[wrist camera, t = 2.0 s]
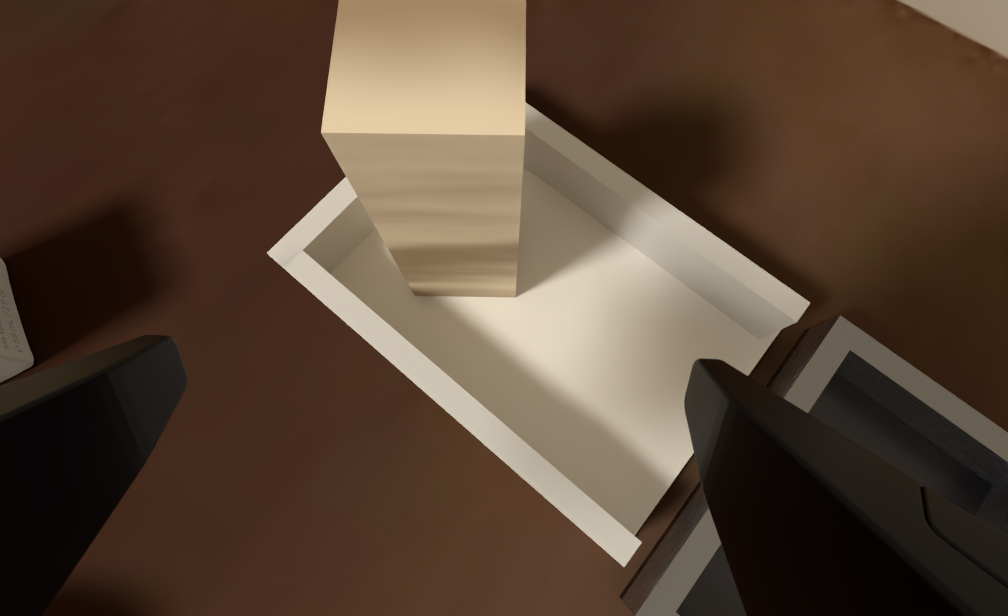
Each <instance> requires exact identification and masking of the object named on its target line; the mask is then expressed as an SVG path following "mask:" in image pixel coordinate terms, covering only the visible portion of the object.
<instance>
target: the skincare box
mask: <svg viewBox="0 0 1008 616" xmlns="http://www.w3.org/2000/svg"><path fill="white" fill-rule="evenodd" d="M33 364H34V357H33V354H32V352H31V350H30V347H29V345H28V342H27V339H26V336H25V333H24V330H23V327H22V324H21V320H20V317H19V314H18V311H17V307H16V304H15V301H14V297H13V293H12V290H11V285H10V282H9V278H8V273H7V269H6V265H5V263H4V262H3V260H2V259H1V258H0V383H1V382H3V381H5V380H7V379H9V378H11V377H13V376H15V375H17V374H19V373H20V372H22V371H24V370H26V369H28V368H30V367H31V366H32V365H33Z"/></svg>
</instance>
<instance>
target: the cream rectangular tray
mask: <svg viewBox="0 0 1008 616" xmlns="http://www.w3.org/2000/svg"><path fill="white" fill-rule="evenodd" d="M267 254H268V255H269V256H270V257H272V258H273V259H274V260H275V261H276V262H277V263H278V264H280V265H281V266H282V267H283V268H284V269H285V270H286V271H287V272H289V273H290V274H291V275H292V276H293V277H294V278H295V279H297V280H298V281H299V282H300V283H301V284H302V285H303V286H305V287H306V288H307V289H308V290H309V291H310V292H311V293H313V294H314V295H315V296H316V297H317V298H318V299H319V300H320V301H322V302H323V303H324V304H325V305H326V306H327V307H328V308H330V309H331V310H332V311H333V312H334V313H335V314H336V315H338V316H339V317H340V318H341V319H342V320H343V321H344V322H346V323H347V324H348V325H349V326H350V327H351V328H352V329H353V330H355V331H356V332H357V333H358V334H359V335H360V336H361V337H363V338H364V339H365V340H366V341H367V342H368V343H369V344H371V345H372V346H373V347H374V348H375V349H376V350H377V351H379V352H380V353H381V354H382V355H383V356H384V357H385V358H386V359H388V360H389V361H390V362H391V363H392V364H393V365H394V366H396V367H397V368H398V369H399V370H400V371H401V372H402V373H404V374H405V375H406V376H407V377H408V378H409V379H410V380H412V381H413V382H414V383H415V384H416V385H417V386H418V387H419V388H421V389H422V390H423V391H424V392H425V393H426V394H427V395H429V396H430V397H431V398H432V399H433V400H434V401H435V402H437V403H438V404H439V405H440V406H441V407H442V408H443V409H445V410H446V411H447V412H448V413H449V414H450V415H451V416H452V417H454V418H455V419H456V420H457V421H458V422H459V423H460V424H462V425H463V426H464V427H465V428H466V429H467V430H468V431H470V432H471V433H472V434H473V435H474V436H475V437H476V438H478V439H479V440H480V441H481V442H482V443H483V444H484V445H485V446H487V447H488V448H489V449H490V450H491V451H492V452H493V453H495V454H496V455H497V456H498V457H499V458H500V459H501V460H503V461H504V462H505V463H506V464H507V465H508V466H509V467H511V468H512V469H513V470H514V471H515V472H516V473H517V474H518V475H520V476H521V477H522V478H523V479H524V480H525V481H526V482H528V483H529V484H530V485H531V486H532V487H533V488H534V489H536V490H537V491H538V492H539V493H540V494H541V495H542V496H544V497H545V498H546V499H547V500H548V501H549V502H550V503H551V504H553V505H554V506H555V507H556V508H557V509H558V510H559V511H561V512H562V513H563V514H564V515H565V516H566V517H567V518H569V519H570V520H571V521H572V522H573V523H574V524H575V525H577V526H578V527H579V528H580V529H581V530H582V531H583V532H585V533H586V534H587V535H588V536H589V537H590V538H591V539H592V540H594V541H595V542H596V543H597V544H598V545H599V546H600V547H602V548H603V549H604V550H605V551H606V552H607V553H608V554H610V555H611V556H612V557H613V558H614V559H615V560H616V561H618V562H619V563H620V564H621V565H622V566H623V567H625V565H626V564H627V563H628V561H629V560H630V558H631V557H632V555H633V554H634V553H635V551H636V550H637V548H638V547H639V545H640V544H641V543H642V542H641V541H640V540H638V539H637V538H636V537H635V535H636V533H637V532H638V530H639V529H640V528H641V526H642V525H643V523H644V522H645V520H646V519H647V518H648V516H649V515H650V513H651V512H652V511H653V509H654V508H655V506H656V505H657V504H658V502H659V501H660V499H661V498H662V497H663V495H664V494H665V492H666V491H667V490H668V488H669V487H670V485H671V484H672V482H673V481H674V480H675V478H676V477H677V475H678V474H679V473H680V471H681V470H682V468H683V467H684V466H685V464H686V463H687V461H688V460H689V459H690V457H691V456H692V454H693V453H694V450H693V446H692V441H691V437H690V432H689V428H688V423H687V419H686V414H685V409H684V398H685V394H686V389H687V385H688V381H689V377H690V373H691V369H692V366H693V364H694V362H695V361H696V360H697V359H699V358H706V359H720V360H723V361H724V362H726V363H728V364H729V365H731V366H733V367H734V368H736V369H737V370H739V371H741V372H742V373H744V374H745V375H747V376H749V374H750V373H751V371H752V370H753V369H754V367H755V366H756V364H757V363H758V362H759V360H760V359H761V357H762V356H763V355H764V353H765V352H766V350H767V349H768V347H769V346H770V345H771V343H772V342H773V340H774V339H775V338H776V336H777V335H778V333H779V332H780V331H781V329H783V328H785V327H788V326H790V325H792V324H794V323H796V322H797V321H798V320H799V319H800V317H801V316H802V314H803V313H804V312H805V310H806V309H807V307H808V306H809V304H810V302H809V301H807V300H806V299H804V298H803V297H802V296H800V295H799V294H797V293H796V292H795V291H793V290H792V289H790V288H789V287H787V286H786V285H785V284H783V283H782V282H780V281H779V280H777V279H776V278H775V277H773V276H772V275H770V274H769V273H767V272H766V271H765V270H763V269H762V268H760V267H759V266H758V265H756V264H755V263H753V262H752V261H750V260H749V259H748V258H746V257H745V256H743V255H742V254H740V253H739V252H738V251H736V250H735V249H733V248H732V247H731V246H729V245H728V244H726V243H725V242H723V241H722V240H721V239H719V238H718V237H716V236H715V235H713V234H712V233H711V232H709V231H708V230H706V229H705V228H704V227H702V226H701V225H699V224H698V223H696V222H695V221H694V220H692V219H691V218H689V217H688V216H686V215H685V214H684V213H682V212H681V211H679V210H678V209H677V208H675V207H674V206H672V205H671V204H669V203H668V202H667V201H665V200H664V199H662V198H661V197H659V196H658V195H657V194H655V193H654V192H652V191H651V190H649V189H648V188H647V187H645V186H644V185H642V184H641V183H640V182H638V181H637V180H635V179H634V178H632V177H631V176H630V175H628V174H627V173H625V172H624V171H622V170H621V169H620V168H618V167H617V166H615V165H614V164H613V163H611V162H610V161H608V160H607V159H605V158H604V157H603V156H601V155H600V154H598V153H597V152H595V151H594V150H593V149H591V148H590V147H588V146H587V145H586V144H584V143H583V142H581V141H580V140H578V139H577V138H576V137H574V136H573V135H571V134H570V133H568V132H567V131H566V130H564V129H563V128H561V127H560V126H559V125H557V124H556V123H554V122H553V121H551V120H550V119H549V118H547V117H546V116H544V115H543V114H541V113H540V112H539V111H537V110H536V109H534V108H533V107H532V106H530V105H529V104H527V103H526V102H525V143H524V160H523V178H522V195H521V213H520V230H519V247H518V265H517V282H516V298H514V297H453V296H415V295H414V293H413V292H412V290H411V288H410V286H409V285H408V283H407V281H406V279H405V278H404V276H403V274H402V272H401V271H400V269H399V267H398V265H397V264H396V262H395V260H394V259H393V257H392V255H391V253H390V252H389V250H388V248H387V246H386V245H385V243H384V241H383V239H382V238H381V236H380V234H379V233H378V231H377V229H376V227H375V226H374V224H373V222H372V220H371V219H370V217H369V215H368V213H367V212H366V210H365V208H364V206H363V205H362V203H361V201H360V200H359V198H358V196H357V194H356V193H355V191H354V189H353V187H352V186H351V184H350V182H349V180H348V179H347V177H345V178H344V179H343V180H342V181H341V182H340V183H339V184H338V185H337V186H336V187H335V188H334V189H333V190H332V191H331V192H330V193H329V194H328V195H327V196H326V197H325V198H323V199H322V200H321V201H320V202H319V203H318V204H317V205H316V206H315V207H314V208H313V209H312V210H311V211H310V212H309V213H308V214H307V215H306V216H305V217H304V218H303V219H302V220H301V221H300V222H299V223H298V224H296V225H295V226H294V227H293V228H292V229H291V230H290V231H289V232H288V233H287V234H286V235H285V236H284V237H283V238H282V239H281V240H280V241H279V242H278V243H277V244H276V245H275V246H274V247H273V248H272V249H271V250H269V251H268V252H267Z"/></svg>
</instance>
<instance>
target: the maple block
mask: <svg viewBox="0 0 1008 616" xmlns="http://www.w3.org/2000/svg"><path fill="white" fill-rule="evenodd" d="M525 66H526V0H339V4H338V12H337V19H336V26H335V34H334V41H333V48H332V56H331V63H330V70H329V78H328V85H327V92H326V99H325V107H324V114H323V121H322V129H321V134H322V135H323V137H324V139H325V141H326V142H327V144H328V146H329V147H330V149H331V151H332V153H333V154H334V156H335V158H336V160H337V161H338V163H339V165H340V167H341V168H342V170H343V172H344V174H345V175H346V177H347V179H348V180H349V182H350V184H351V186H352V187H353V189H354V191H355V193H356V194H357V196H358V198H359V200H360V201H361V203H362V205H363V206H364V208H365V210H366V212H367V213H368V215H369V217H370V219H371V220H372V222H373V224H374V226H375V227H376V229H377V231H378V233H379V234H380V236H381V238H382V239H383V241H384V243H385V245H386V246H387V248H388V250H389V252H390V253H391V255H392V257H393V259H394V260H395V262H396V264H397V265H398V267H399V269H400V271H401V272H402V274H403V276H404V278H405V279H406V281H407V283H408V285H409V286H410V288H411V290H412V292H413V293H414V295H415V296H453V297H514V298H516V282H517V265H518V247H519V230H520V213H521V195H522V178H523V160H524V143H525Z"/></svg>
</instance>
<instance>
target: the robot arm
mask: <svg viewBox="0 0 1008 616" xmlns="http://www.w3.org/2000/svg"><path fill="white" fill-rule="evenodd" d="M186 385H187V373H186V370H185V367H184V364H183V361H182V358H181V355H180V352H179V349H178V345H177V343H176V341H175V340H174V339H173V338H172V337H170V336H162V335H145V336H141V337H138V338H135V339H133V340H130V341H127V342H124V343H121V344H118V345H115V346H113V347H110V348H107V349H104V350H101V351H98V352H95V353H93V354H90V355H87V356H84V357H81V358H78V359H76V360H73V361H70V362H67V363H64V364H61V365H58V366H56V367H53V368H50V369H47V370H44V371H41V372H38V373H36V374H33V375H30V376H27V377H24V378H21V379H19V380H16V381H13V382H10V383H7V384H4V385H1V386H0V616H43V615H44V613H45V612H46V610H47V609H48V607H49V606H50V604H51V603H52V601H53V600H54V598H55V597H56V595H57V594H58V592H59V591H60V589H61V588H62V586H63V585H64V583H65V582H66V580H67V579H68V578H69V576H70V575H71V573H72V572H73V570H74V569H75V567H76V566H77V564H78V563H79V561H80V560H81V558H82V557H83V555H84V554H85V552H86V551H87V549H88V548H89V546H90V545H91V543H92V542H93V540H94V539H95V537H96V536H97V535H98V533H99V532H100V530H101V529H102V527H103V526H104V524H105V523H106V521H107V520H108V518H109V517H110V515H111V514H112V512H113V511H114V509H115V508H116V506H117V505H118V503H119V502H120V500H121V499H122V497H123V496H124V494H125V493H126V492H127V490H128V489H129V487H130V486H131V484H132V483H133V481H134V480H135V478H136V477H137V475H138V474H139V472H140V470H141V469H142V467H143V466H144V464H145V463H146V461H147V459H148V457H149V456H150V454H151V452H152V450H153V448H154V447H155V445H156V443H157V441H158V439H159V437H160V435H161V434H162V432H163V430H164V428H165V426H166V424H167V422H168V420H169V419H170V417H171V415H172V413H173V411H174V409H175V407H176V406H177V404H178V402H179V400H180V398H181V396H182V394H183V393H184V391H185V388H186ZM684 409H685V414H686V419H687V423H688V428H689V432H690V437H691V441H692V446H693V450H694V455H695V459H696V464H697V468H698V473H699V477H700V481H701V485H702V489H703V492H704V495H705V498H706V502H707V505H708V507H709V510H710V513H711V516H712V519H713V522H714V525H715V527H716V530H717V533H718V536H719V539H720V542H721V545H722V547H723V550H724V553H725V556H726V559H727V562H728V565H729V567H730V570H731V573H732V576H733V579H734V582H735V585H736V587H737V590H738V593H739V596H740V599H741V602H742V605H743V607H744V610H745V613H746V616H1008V536H1007V535H1005V534H1004V533H1002V532H1000V531H998V530H997V529H995V528H993V527H992V526H990V525H988V524H987V523H985V522H983V521H982V520H980V519H978V518H977V517H975V516H973V515H972V514H970V513H968V512H967V511H965V510H963V509H962V508H960V507H959V506H957V505H955V504H954V503H952V502H950V501H949V500H947V499H946V498H944V497H942V496H941V495H939V494H938V493H936V492H934V491H933V490H931V489H930V488H928V487H926V486H922V487H921V486H920V483H919V482H918V481H916V480H915V479H913V478H912V477H910V476H908V475H907V474H905V473H903V472H902V471H900V470H899V469H897V468H895V467H894V466H892V465H891V464H889V463H887V462H886V461H884V460H883V459H881V458H879V457H878V456H876V455H874V454H873V453H871V452H870V451H868V450H866V449H865V448H863V447H862V446H860V445H858V444H857V443H855V442H853V441H852V440H850V439H849V438H847V437H845V436H844V435H842V434H841V433H839V432H837V431H836V430H834V429H833V428H831V427H829V426H828V425H826V424H824V423H823V422H821V421H820V420H818V419H816V418H815V417H813V416H812V415H810V414H808V413H807V412H805V411H803V410H802V409H800V408H799V407H797V406H795V405H794V404H792V403H791V402H789V401H787V400H786V399H784V398H782V397H781V396H779V395H778V394H776V393H774V392H773V391H771V390H770V389H768V388H766V387H765V386H763V385H762V384H760V383H758V382H757V381H755V380H753V379H752V378H750V377H749V376H747V375H745V374H744V373H742V372H741V371H739V370H737V369H736V368H734V367H733V366H731V365H729V364H728V363H726V362H724V361H723V360H720V359H706V358H699V359H697V360H696V361H695V362H694V364H693V366H692V369H691V373H690V377H689V381H688V385H687V389H686V394H685V398H684Z"/></svg>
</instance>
